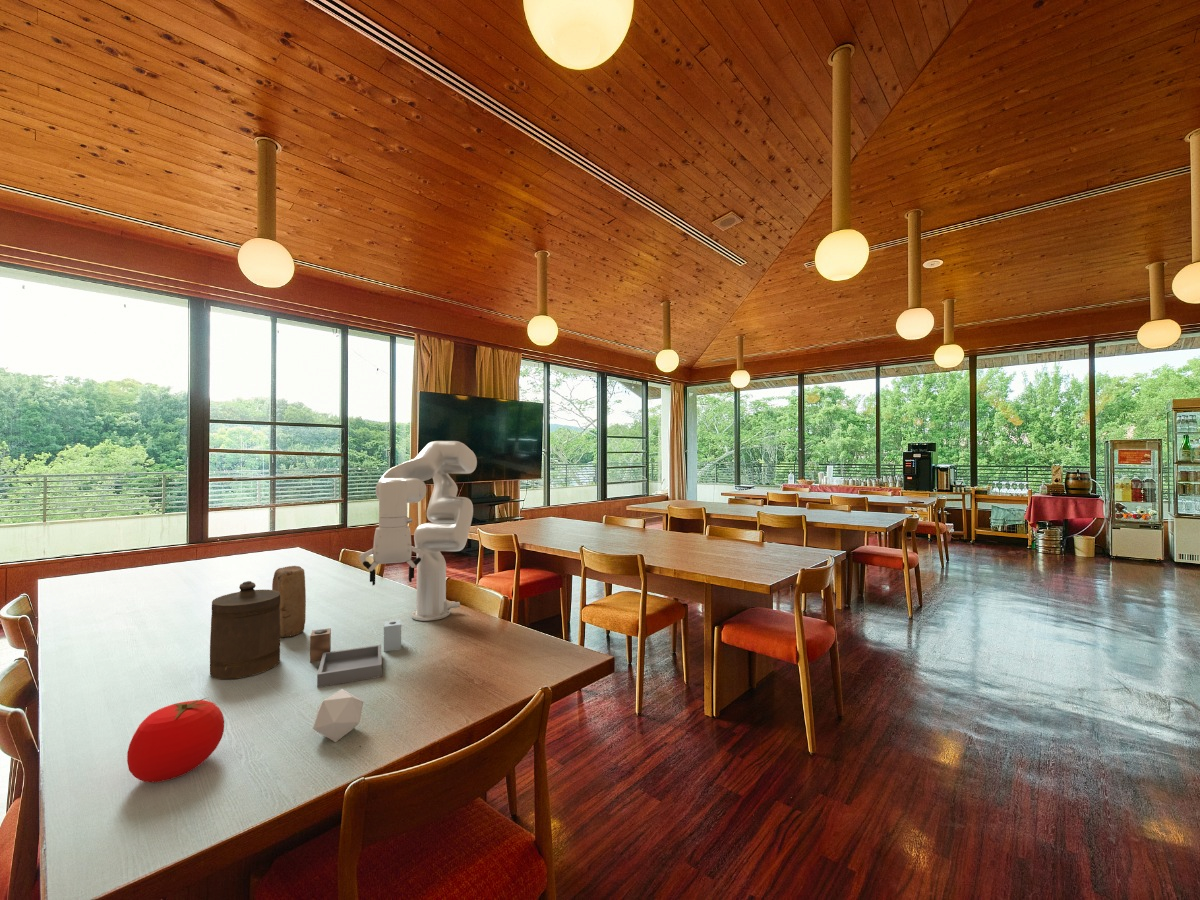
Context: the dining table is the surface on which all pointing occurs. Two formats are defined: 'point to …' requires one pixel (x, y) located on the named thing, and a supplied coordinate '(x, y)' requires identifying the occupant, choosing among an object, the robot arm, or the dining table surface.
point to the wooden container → (245, 632)
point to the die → (338, 715)
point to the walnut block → (319, 643)
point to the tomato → (175, 740)
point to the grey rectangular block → (392, 635)
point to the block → (291, 599)
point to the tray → (350, 665)
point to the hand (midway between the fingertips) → (392, 582)
